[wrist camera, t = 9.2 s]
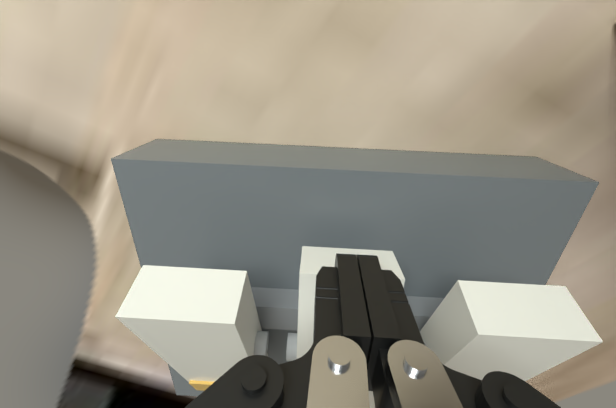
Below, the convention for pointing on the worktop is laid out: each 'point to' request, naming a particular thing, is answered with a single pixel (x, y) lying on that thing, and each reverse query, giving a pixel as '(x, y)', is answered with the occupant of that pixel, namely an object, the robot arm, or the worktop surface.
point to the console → (346, 217)
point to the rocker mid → (307, 282)
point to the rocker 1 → (195, 319)
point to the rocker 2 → (507, 328)
